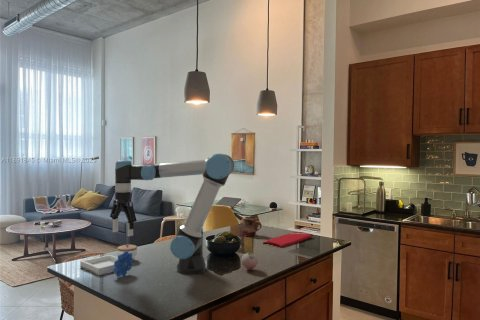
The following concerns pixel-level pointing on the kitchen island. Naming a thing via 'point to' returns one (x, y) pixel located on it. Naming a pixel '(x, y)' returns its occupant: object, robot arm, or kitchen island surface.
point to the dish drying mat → (288, 239)
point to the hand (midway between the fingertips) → (122, 233)
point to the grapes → (123, 264)
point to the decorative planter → (249, 226)
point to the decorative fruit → (249, 260)
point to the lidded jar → (127, 249)
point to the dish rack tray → (99, 264)
